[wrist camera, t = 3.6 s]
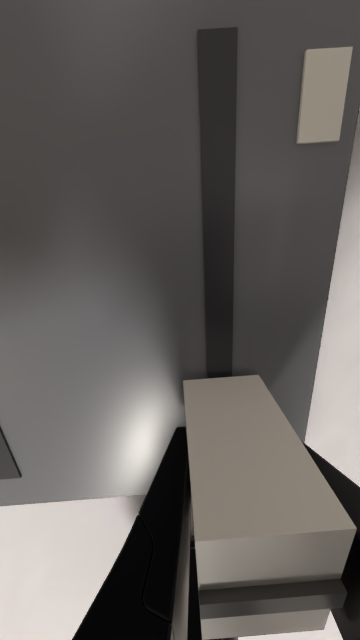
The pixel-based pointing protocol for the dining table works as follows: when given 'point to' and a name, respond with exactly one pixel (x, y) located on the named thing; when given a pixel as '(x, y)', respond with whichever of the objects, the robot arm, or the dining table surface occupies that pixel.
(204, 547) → the fader
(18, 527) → the dining table surface
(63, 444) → the console
